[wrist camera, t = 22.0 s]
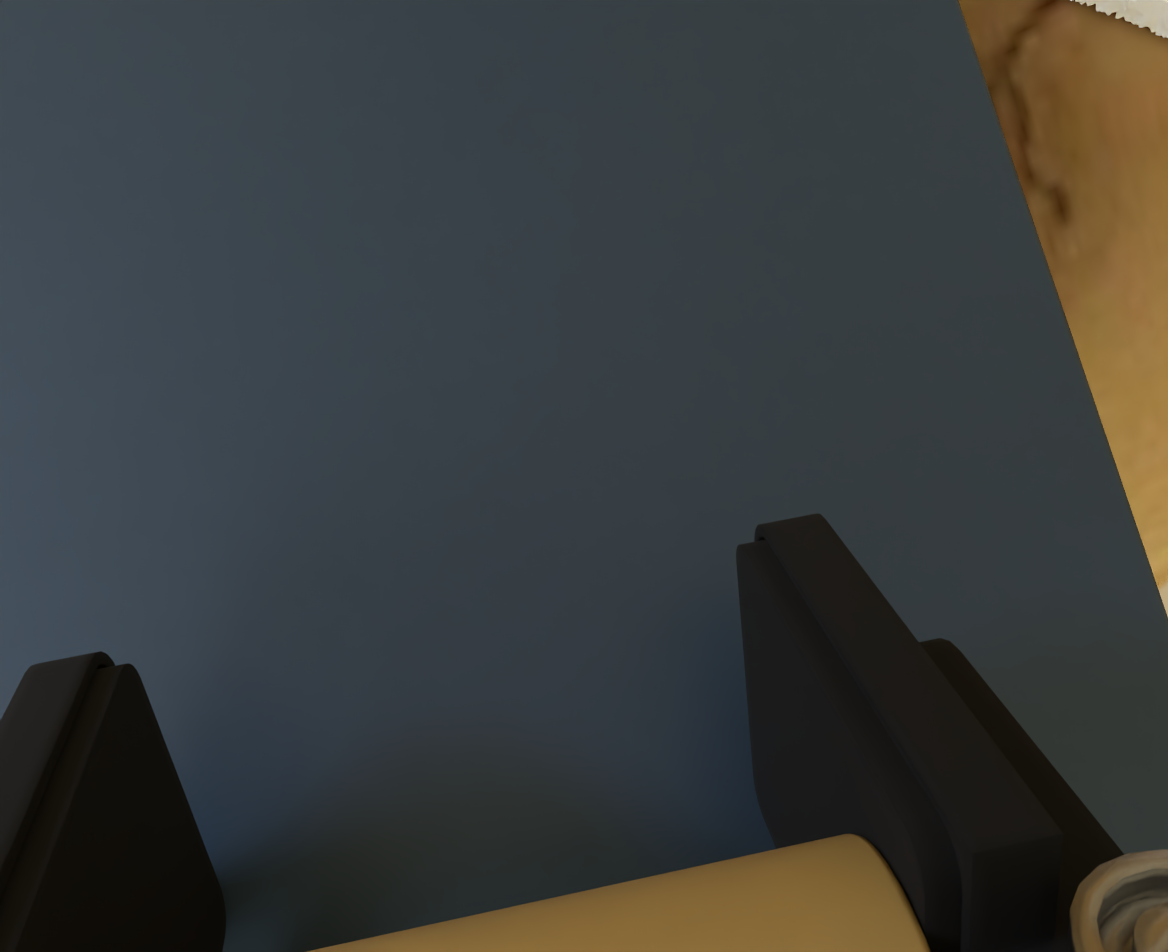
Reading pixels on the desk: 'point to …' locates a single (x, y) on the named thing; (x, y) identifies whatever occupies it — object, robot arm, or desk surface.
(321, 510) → the chest lid
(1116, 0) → the dinosaur figurine
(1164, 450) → the desk surface
